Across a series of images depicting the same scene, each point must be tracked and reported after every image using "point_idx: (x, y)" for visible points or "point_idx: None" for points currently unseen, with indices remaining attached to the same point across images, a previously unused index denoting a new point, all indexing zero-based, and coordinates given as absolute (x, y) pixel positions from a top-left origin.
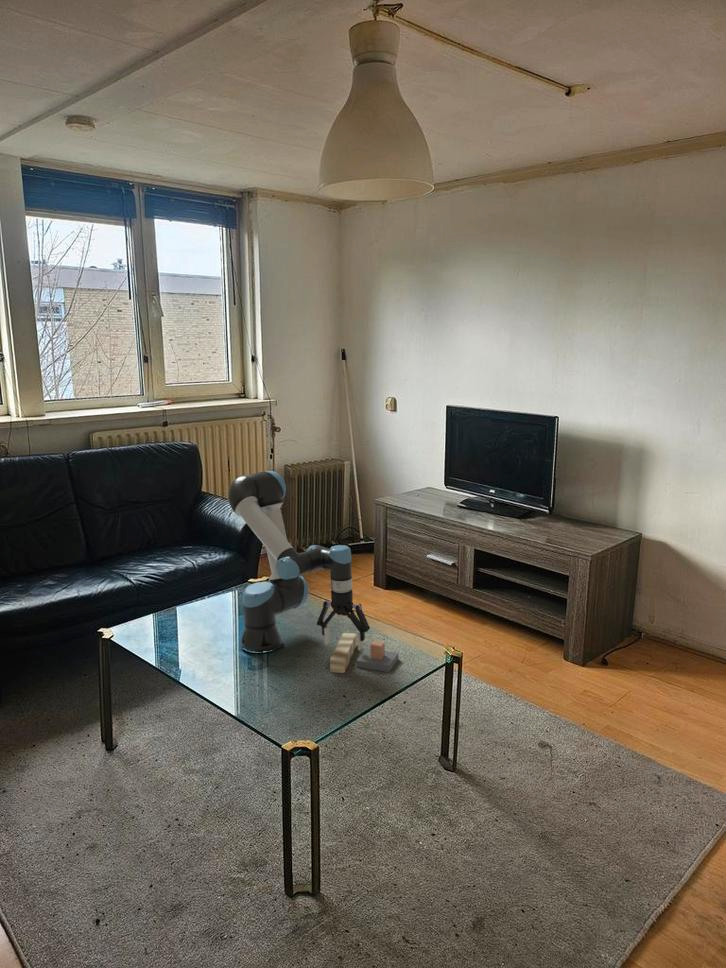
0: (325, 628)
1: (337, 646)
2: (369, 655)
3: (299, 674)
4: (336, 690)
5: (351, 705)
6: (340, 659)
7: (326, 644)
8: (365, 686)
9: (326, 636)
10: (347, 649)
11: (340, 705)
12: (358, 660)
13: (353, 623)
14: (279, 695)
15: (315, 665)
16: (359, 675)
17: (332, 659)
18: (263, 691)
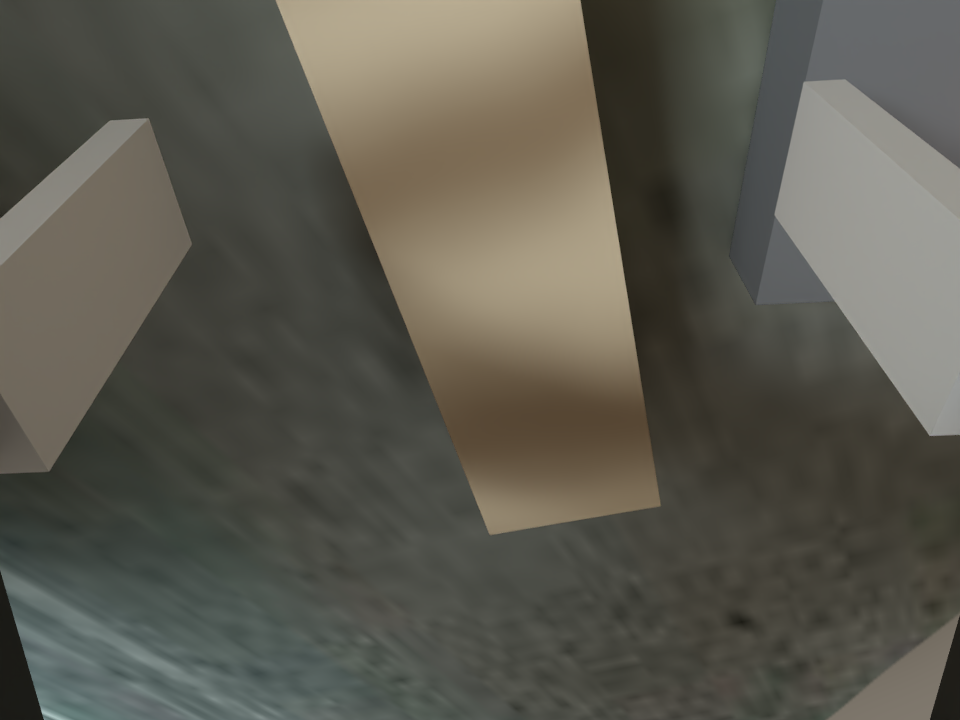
0: (36, 470)
1: (387, 230)
2: (932, 107)
3: (251, 519)
4: (660, 592)
5: (814, 669)
6: (611, 506)
7: (184, 251)
8: (883, 501)
9: (129, 331)
10: (596, 265)
11: (744, 683)
12: (782, 300)
13: (948, 666)
14: (331, 703)
15: (261, 360)
16: (795, 379)
17: (518, 528)
18: (209, 701)
